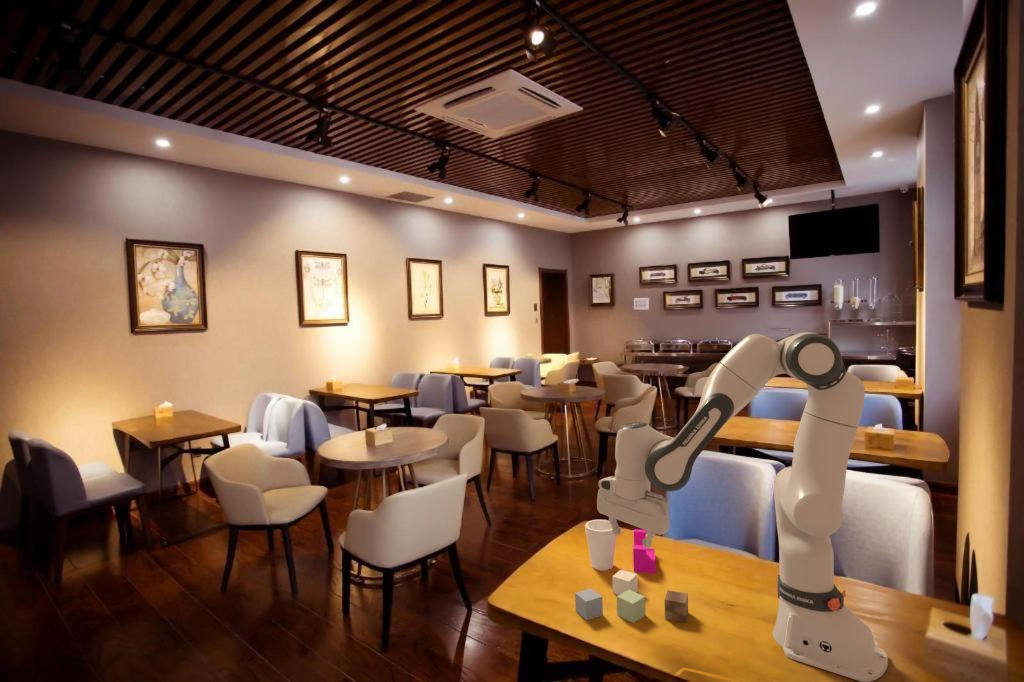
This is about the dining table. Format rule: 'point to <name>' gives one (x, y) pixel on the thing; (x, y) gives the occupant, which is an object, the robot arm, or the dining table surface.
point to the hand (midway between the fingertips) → (631, 540)
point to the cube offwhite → (624, 582)
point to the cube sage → (631, 606)
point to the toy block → (642, 554)
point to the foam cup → (600, 544)
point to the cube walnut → (676, 606)
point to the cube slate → (589, 604)
